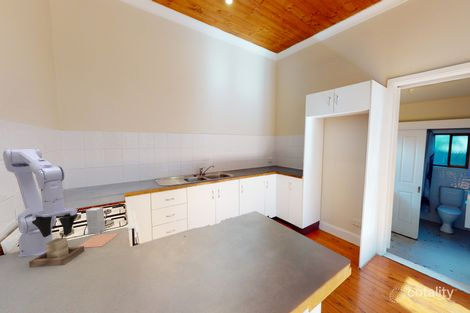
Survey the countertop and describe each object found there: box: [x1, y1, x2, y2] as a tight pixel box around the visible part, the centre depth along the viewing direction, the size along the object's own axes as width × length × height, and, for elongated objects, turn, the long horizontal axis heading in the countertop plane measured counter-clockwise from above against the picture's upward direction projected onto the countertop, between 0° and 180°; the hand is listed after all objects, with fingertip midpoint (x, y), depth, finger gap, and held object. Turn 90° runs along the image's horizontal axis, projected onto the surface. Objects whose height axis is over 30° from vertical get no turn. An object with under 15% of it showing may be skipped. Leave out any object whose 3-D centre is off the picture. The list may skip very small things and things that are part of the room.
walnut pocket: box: [28, 245, 85, 268], centre depth 68 cm, size 12×8×2 cm
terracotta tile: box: [77, 233, 120, 249], centre depth 80 cm, size 11×11×1 cm
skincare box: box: [85, 207, 106, 235], centre depth 91 cm, size 6×4×12 cm
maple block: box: [46, 237, 69, 259], centre depth 68 cm, size 4×4×7 cm
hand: (57, 235), depth 68 cm, fingers open, 7 cm apart
